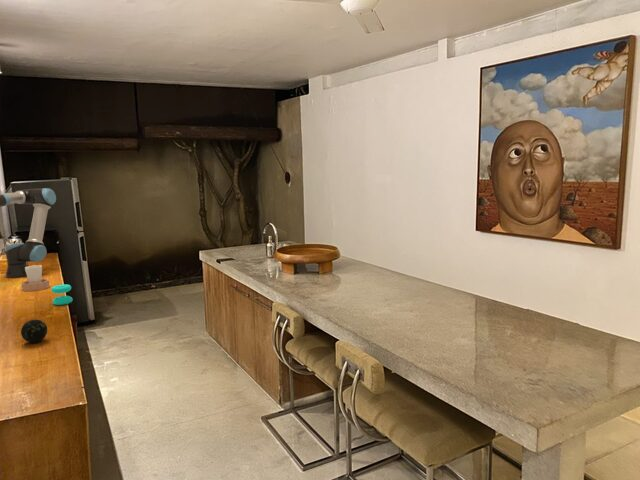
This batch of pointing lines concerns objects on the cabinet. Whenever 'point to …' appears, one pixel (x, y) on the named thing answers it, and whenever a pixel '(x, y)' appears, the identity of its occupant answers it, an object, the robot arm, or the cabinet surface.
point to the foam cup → (34, 274)
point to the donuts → (62, 299)
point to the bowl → (35, 285)
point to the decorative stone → (34, 331)
